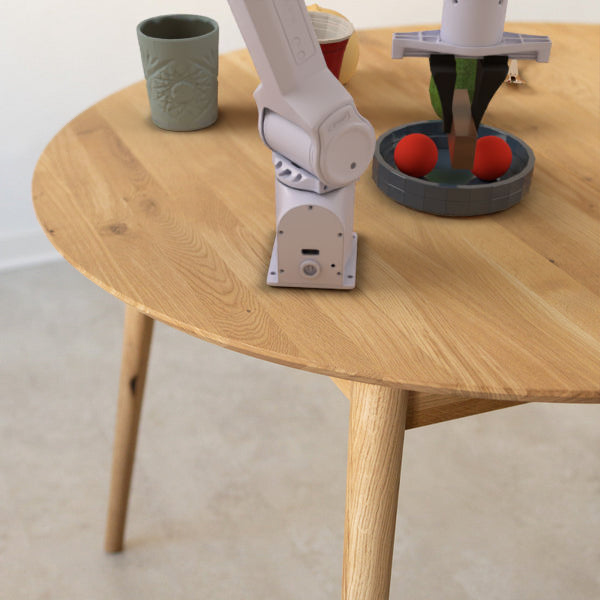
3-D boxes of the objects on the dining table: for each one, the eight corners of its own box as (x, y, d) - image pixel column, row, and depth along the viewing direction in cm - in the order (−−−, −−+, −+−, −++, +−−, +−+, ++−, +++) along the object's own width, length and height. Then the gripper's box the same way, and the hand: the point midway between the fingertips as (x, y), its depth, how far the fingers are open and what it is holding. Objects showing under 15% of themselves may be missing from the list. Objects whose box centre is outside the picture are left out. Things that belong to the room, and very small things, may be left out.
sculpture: (268, 72, 116) (266, -3, 109) (347, 67, 118) (349, -8, 111) (281, 101, 107) (280, 21, 100) (366, 95, 108) (370, 15, 102)
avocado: (426, 110, 104) (435, 18, 97) (486, 113, 103) (499, 20, 96) (425, 134, 98) (434, 38, 91) (489, 138, 97) (503, 41, 90)
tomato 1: (436, 186, 85) (441, 145, 83) (392, 184, 86) (395, 143, 83) (434, 166, 89) (438, 127, 86) (392, 165, 90) (395, 125, 87)
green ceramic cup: (183, 98, 108) (174, 8, 101) (241, 114, 103) (236, 21, 96) (130, 123, 101) (117, 28, 94) (190, 141, 96) (181, 43, 89)
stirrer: (534, 68, 106) (498, 65, 106) (529, 94, 107) (494, 91, 108) (532, 33, 122) (501, 31, 123) (528, 56, 124) (498, 54, 125)
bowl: (541, 222, 80) (547, 191, 78) (370, 216, 81) (372, 185, 79) (517, 150, 94) (522, 121, 92) (372, 145, 95) (374, 117, 93)
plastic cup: (329, 137, 97) (331, 40, 90) (254, 120, 101) (250, 27, 94) (364, 107, 105) (369, 16, 98) (294, 93, 109) (293, 4, 102)
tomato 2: (511, 188, 85) (518, 147, 82) (466, 187, 85) (471, 146, 82) (505, 169, 89) (512, 129, 86) (462, 167, 89) (467, 128, 86)
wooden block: (444, 119, 84) (447, 88, 82) (463, 119, 84) (467, 88, 82) (451, 169, 74) (455, 135, 72) (473, 170, 74) (477, 136, 72)
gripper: (551, -22, 73) (527, 116, 81) (395, -25, 74) (387, 112, 82) (565, -2, 67) (538, 145, 75) (395, -5, 68) (386, 140, 76)
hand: (459, 129), depth 78 cm, fingers closed on wooden block, 2 cm apart
